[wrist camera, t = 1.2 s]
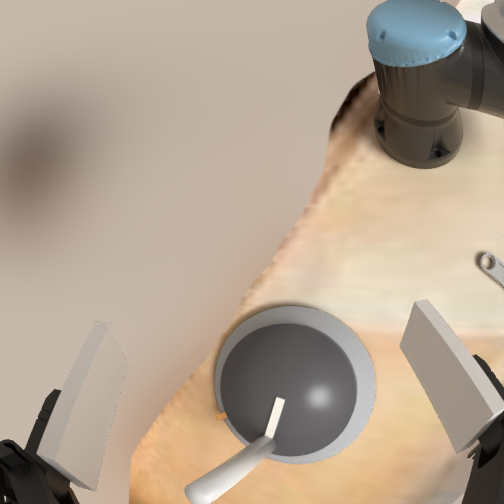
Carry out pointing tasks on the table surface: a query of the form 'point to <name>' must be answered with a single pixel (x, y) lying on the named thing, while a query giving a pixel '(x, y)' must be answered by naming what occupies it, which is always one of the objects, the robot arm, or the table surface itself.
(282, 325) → the dial
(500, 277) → the adjustable wrench
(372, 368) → the dial base
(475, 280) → the table surface
